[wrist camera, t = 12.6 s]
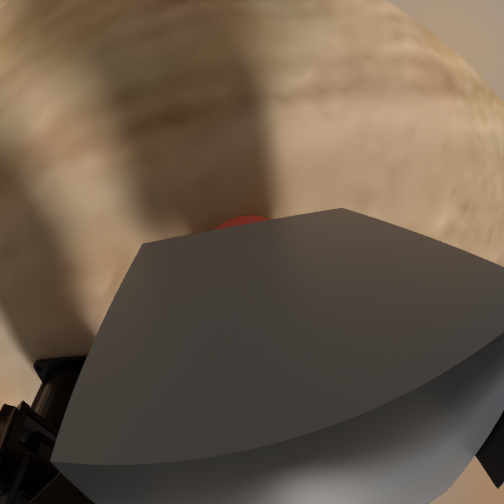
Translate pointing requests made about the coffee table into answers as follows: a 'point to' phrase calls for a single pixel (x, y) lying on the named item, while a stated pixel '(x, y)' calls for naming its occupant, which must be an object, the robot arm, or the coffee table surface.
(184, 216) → the coffee table surface
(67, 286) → the coffee table surface
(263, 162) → the coffee table surface
